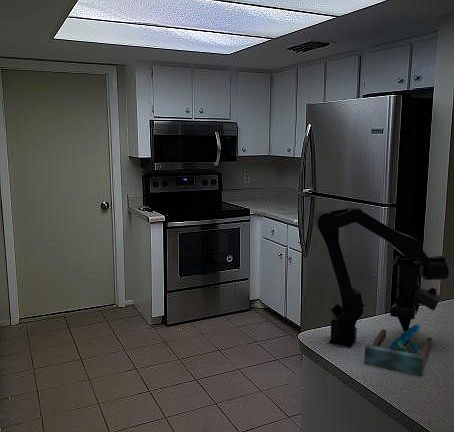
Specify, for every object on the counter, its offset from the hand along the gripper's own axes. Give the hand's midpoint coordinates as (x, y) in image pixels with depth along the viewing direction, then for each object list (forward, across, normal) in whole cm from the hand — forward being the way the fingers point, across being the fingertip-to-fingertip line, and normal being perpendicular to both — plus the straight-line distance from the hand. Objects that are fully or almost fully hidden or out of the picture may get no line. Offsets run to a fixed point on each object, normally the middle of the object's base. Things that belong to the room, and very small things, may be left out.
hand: (405, 331), depth 134 cm
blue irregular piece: (+3, -7, -1) cm, 7 cm away
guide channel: (+3, -9, 0) cm, 9 cm away
